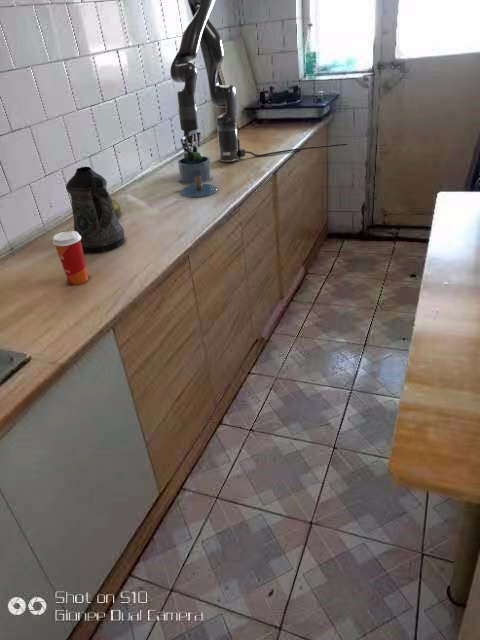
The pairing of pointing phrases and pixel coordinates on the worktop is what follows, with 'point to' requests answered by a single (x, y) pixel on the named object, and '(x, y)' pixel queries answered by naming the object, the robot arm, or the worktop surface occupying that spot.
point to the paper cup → (71, 256)
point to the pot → (194, 170)
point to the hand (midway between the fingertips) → (193, 159)
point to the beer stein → (94, 212)
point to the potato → (116, 207)
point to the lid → (199, 189)
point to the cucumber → (194, 156)
